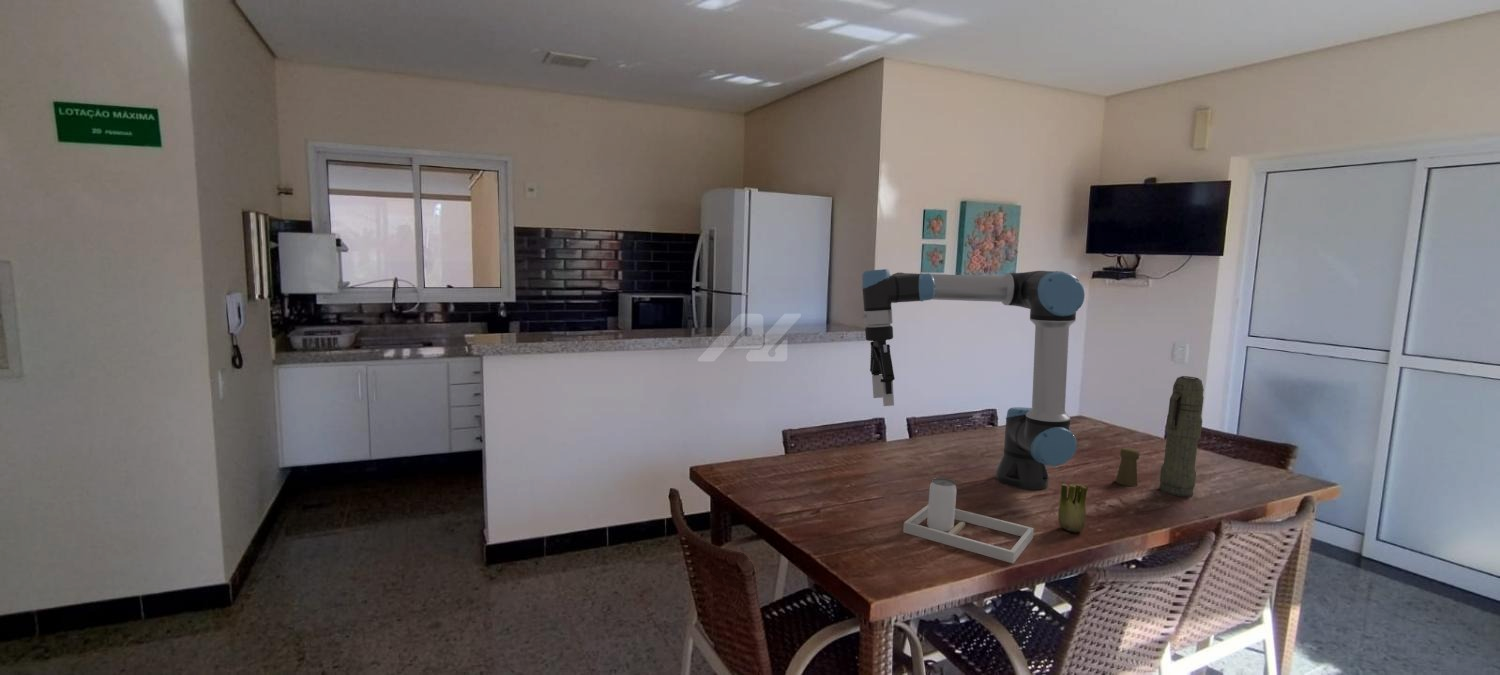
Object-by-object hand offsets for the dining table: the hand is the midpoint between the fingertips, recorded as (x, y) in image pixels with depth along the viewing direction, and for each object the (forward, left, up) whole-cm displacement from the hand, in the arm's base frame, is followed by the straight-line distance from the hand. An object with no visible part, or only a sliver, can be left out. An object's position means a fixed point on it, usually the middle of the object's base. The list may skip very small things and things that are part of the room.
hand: (883, 401), depth 188 cm
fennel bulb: (-45, +22, -27) cm, 57 cm away
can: (-11, +23, -27) cm, 37 cm away
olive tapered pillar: (-82, -17, -27) cm, 88 cm away
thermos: (-93, -10, -27) cm, 97 cm away
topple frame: (-17, +27, -27) cm, 42 cm away
